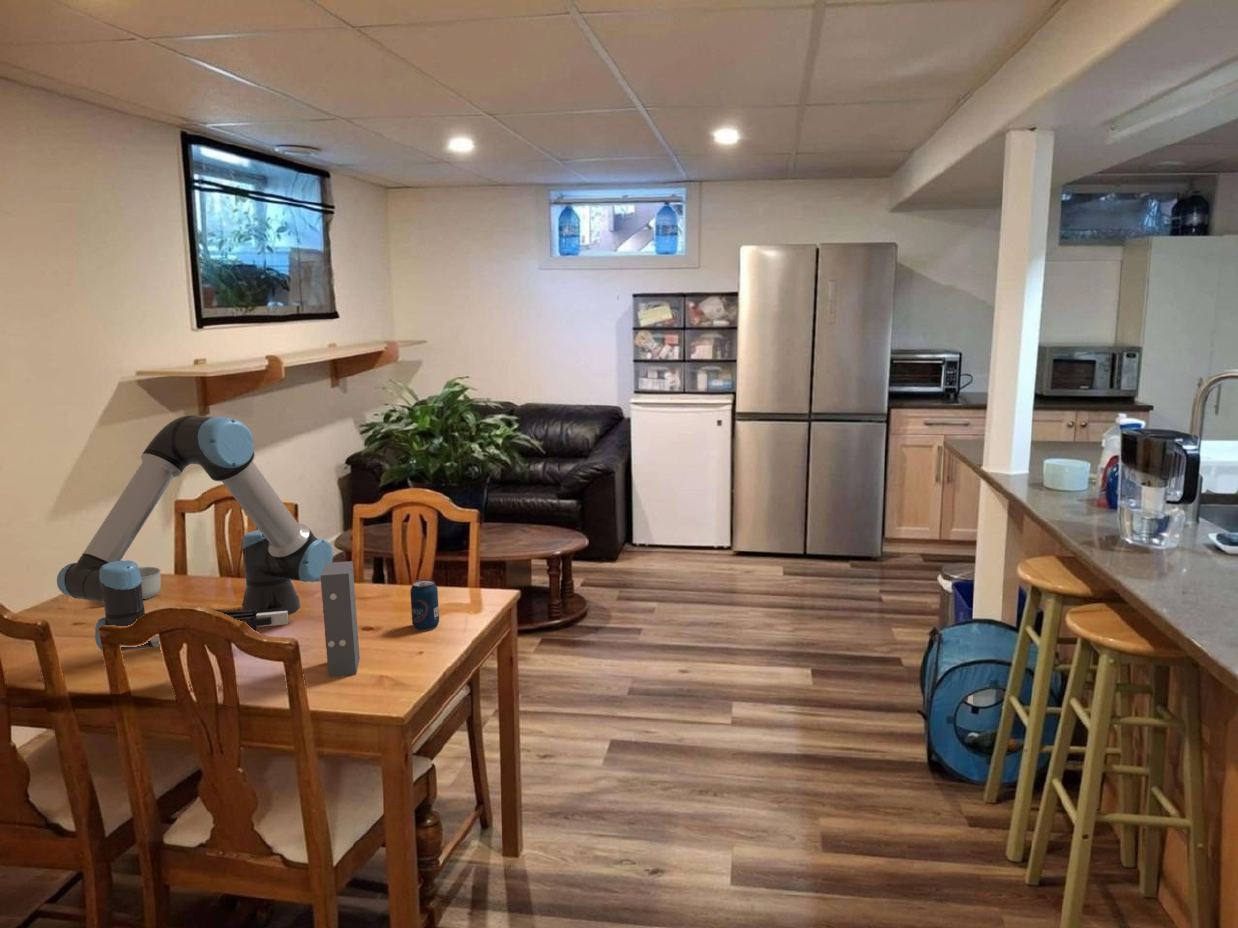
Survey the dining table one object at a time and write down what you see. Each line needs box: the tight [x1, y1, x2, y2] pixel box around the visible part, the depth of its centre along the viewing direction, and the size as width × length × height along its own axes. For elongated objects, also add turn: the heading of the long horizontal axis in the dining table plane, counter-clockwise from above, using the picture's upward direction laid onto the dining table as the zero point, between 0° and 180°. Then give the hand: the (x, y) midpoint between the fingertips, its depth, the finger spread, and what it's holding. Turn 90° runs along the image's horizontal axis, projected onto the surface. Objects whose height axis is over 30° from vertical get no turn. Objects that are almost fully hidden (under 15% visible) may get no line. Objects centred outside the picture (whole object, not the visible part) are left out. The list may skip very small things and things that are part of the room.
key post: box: [320, 560, 360, 678], centre depth 202 cm, size 6×10×24 cm, turn 12°
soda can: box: [409, 579, 440, 632], centre depth 229 cm, size 7×7×12 cm
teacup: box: [138, 566, 162, 600], centre depth 257 cm, size 14×11×8 cm
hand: (287, 617), depth 200 cm, fingers closed
